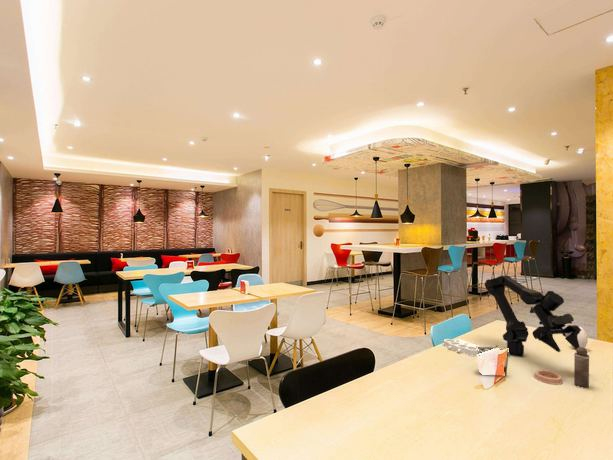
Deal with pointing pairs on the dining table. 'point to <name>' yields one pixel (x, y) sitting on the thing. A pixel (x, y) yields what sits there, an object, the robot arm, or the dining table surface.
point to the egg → (582, 338)
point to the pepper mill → (581, 368)
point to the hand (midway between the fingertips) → (569, 351)
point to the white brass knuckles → (462, 346)
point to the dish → (548, 377)
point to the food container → (492, 348)
